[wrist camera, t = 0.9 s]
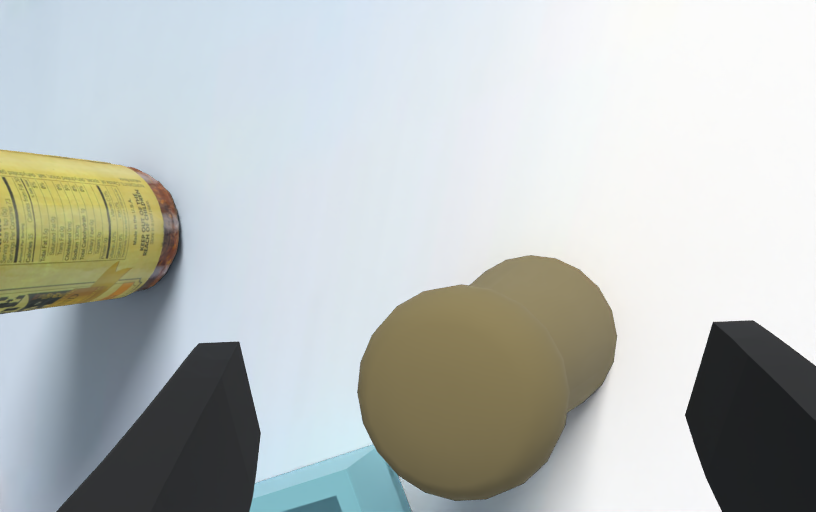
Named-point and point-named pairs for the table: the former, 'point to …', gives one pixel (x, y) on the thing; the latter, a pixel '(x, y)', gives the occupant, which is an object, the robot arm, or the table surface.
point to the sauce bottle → (79, 231)
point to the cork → (484, 376)
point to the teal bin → (334, 487)
